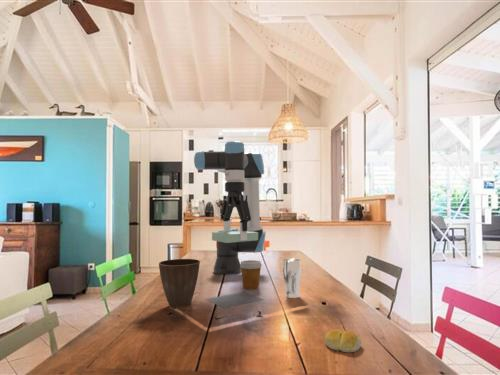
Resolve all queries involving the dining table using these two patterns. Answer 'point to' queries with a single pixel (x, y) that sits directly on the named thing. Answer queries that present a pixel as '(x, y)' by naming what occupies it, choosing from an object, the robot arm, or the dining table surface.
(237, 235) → the board
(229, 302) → the rubber mat
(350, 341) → the bread roll
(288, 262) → the beer glass
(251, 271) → the disposable coffee cup
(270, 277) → the dining table surface
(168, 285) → the plant pot
